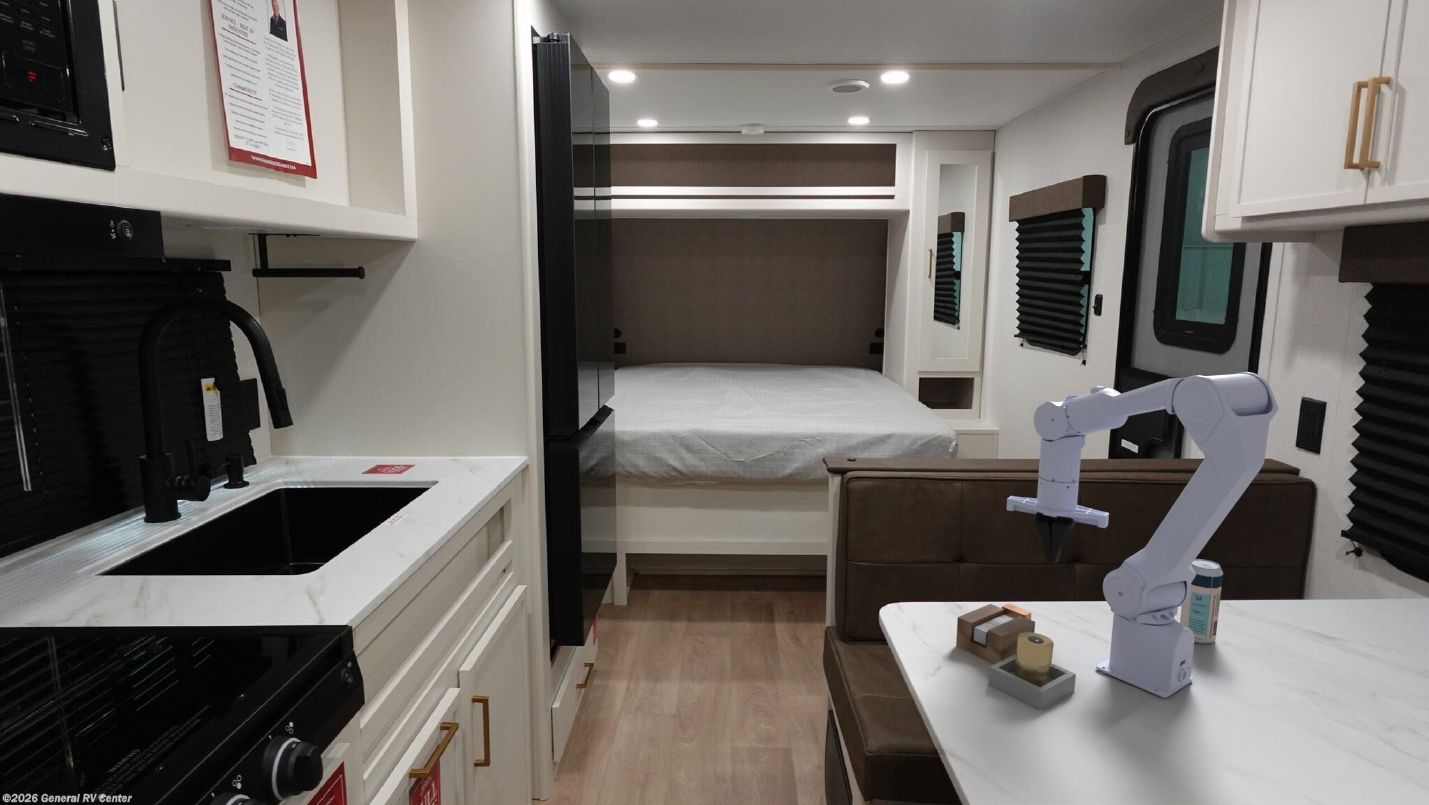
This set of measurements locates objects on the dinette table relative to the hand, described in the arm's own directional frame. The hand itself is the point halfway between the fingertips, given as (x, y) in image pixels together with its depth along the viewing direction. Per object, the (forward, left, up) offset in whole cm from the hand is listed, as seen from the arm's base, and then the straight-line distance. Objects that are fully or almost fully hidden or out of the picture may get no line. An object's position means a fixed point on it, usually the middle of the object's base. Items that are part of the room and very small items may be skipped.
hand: (1052, 561), depth 120 cm
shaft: (0, +13, -9) cm, 16 cm away
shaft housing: (0, +14, -10) cm, 17 cm away
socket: (-10, +20, -10) cm, 24 cm away
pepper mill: (-10, +20, -10) cm, 24 cm away
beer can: (-16, -14, -11) cm, 24 cm away
